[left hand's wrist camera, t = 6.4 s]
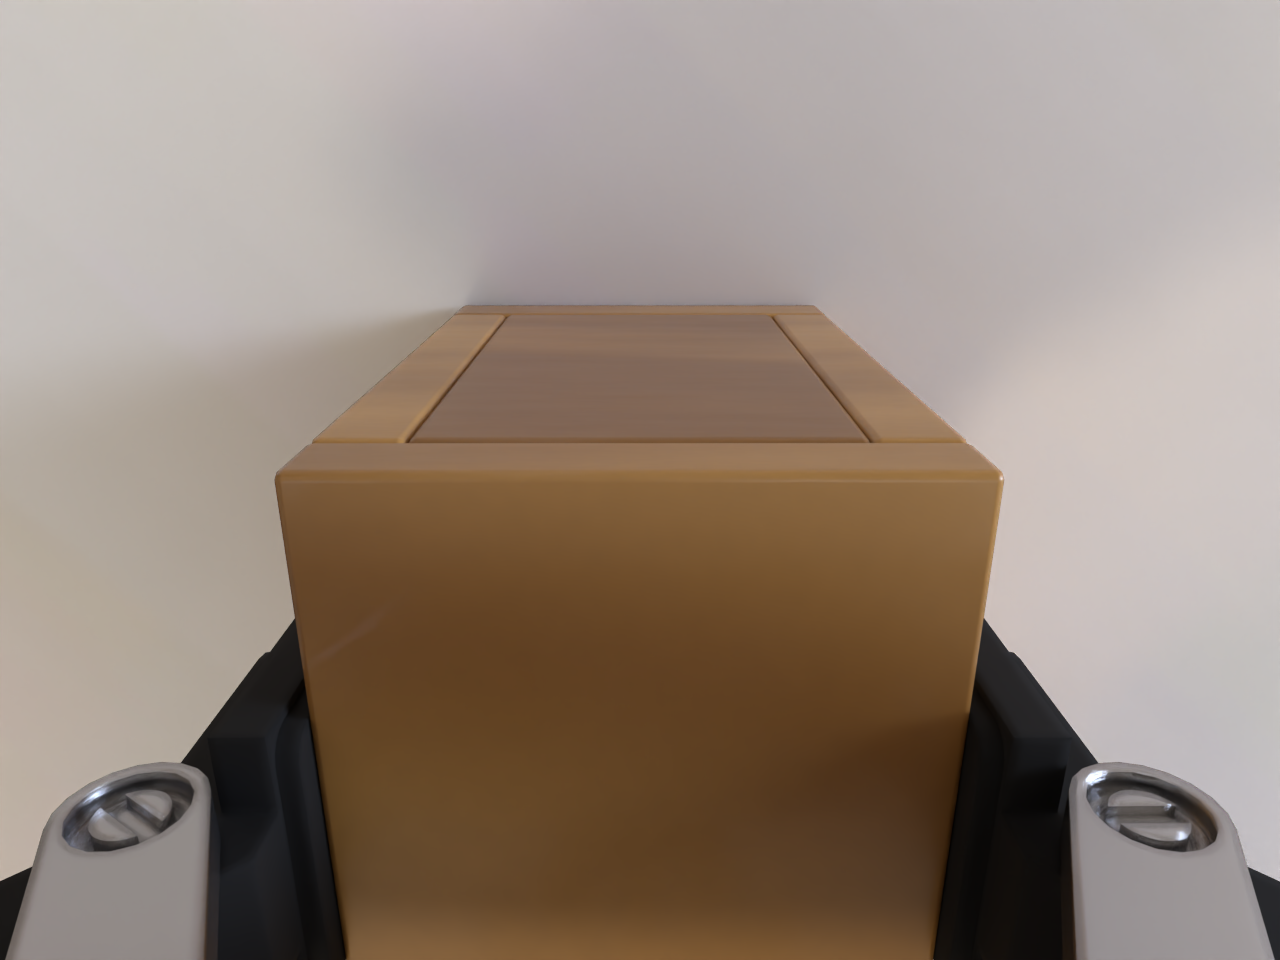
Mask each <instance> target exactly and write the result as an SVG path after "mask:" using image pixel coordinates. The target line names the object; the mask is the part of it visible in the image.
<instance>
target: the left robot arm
mask: <svg viewBox="0 0 1280 960" xmlns="http://www.w3.org/2000/svg"><path fill="white" fill-rule="evenodd" d="M0 960H346V955H345V948H344V942H343V935H342V928H341V921H340V915H339V908H338V901H337V895H336V888H335V881H334V875H333V868H332V861H331V855H330V848H329V841H328V834H327V828H326V821H325V814H324V808H323V801H322V794H321V788H320V781H319V774H318V768H317V761H316V754H315V747H314V741H313V734H312V727H311V721H310V714H309V707H308V701H307V694H306V687H305V680H304V674H303V667H302V660H301V654H300V647H299V640H298V634H297V627H296V620H295V619H294V620H293V622H292V623H291V624H290V626H289V627H288V629H287V630H286V631H285V633H284V634H283V635H282V637H281V638H280V639H279V641H278V642H277V643H276V645H275V646H274V647H273V649H272V650H271V652H267V653H265V654H264V655H263V656H262V657H260V658H259V660H258V661H257V662H256V664H255V665H254V666H253V668H252V669H251V670H250V672H249V673H248V674H247V676H246V677H245V678H244V680H243V681H242V682H241V684H240V685H239V686H238V688H237V689H236V690H235V692H234V693H233V694H232V696H231V697H230V698H229V700H228V701H227V702H226V704H225V705H224V706H223V708H222V709H221V710H220V712H219V713H218V714H217V716H216V717H215V718H214V720H213V721H212V722H211V724H210V725H209V726H208V728H207V729H206V730H205V732H204V733H203V734H202V736H201V737H200V738H199V740H198V741H197V742H196V744H195V745H194V746H193V747H192V749H191V750H190V751H189V753H188V754H187V755H186V757H185V758H184V759H183V761H182V762H181V763H168V762H158V763H151V764H144V765H137V766H134V767H130V768H127V769H124V770H120V771H117V772H114V773H111V774H109V775H107V776H105V777H102V778H100V779H98V780H96V781H94V782H92V783H89V784H88V785H86V786H85V787H83V788H82V789H80V790H79V791H77V792H76V793H74V794H73V795H71V796H70V797H68V798H67V799H66V800H65V801H64V802H63V803H62V804H61V805H60V806H59V807H58V808H57V809H56V810H55V811H54V812H53V813H52V814H51V816H50V818H49V820H48V822H47V824H46V826H45V827H44V829H43V832H42V836H41V839H40V843H39V846H38V850H37V853H36V856H35V860H34V863H33V867H30V868H28V869H26V870H24V871H22V872H20V873H17V874H15V875H13V876H11V877H9V878H6V879H4V880H2V881H0ZM933 960H1280V882H1279V881H1277V880H1275V879H1273V878H1271V877H1269V876H1266V875H1264V874H1262V873H1260V872H1258V871H1255V870H1253V869H1251V868H1249V867H1247V863H1246V860H1245V856H1244V853H1243V850H1242V846H1241V843H1240V839H1239V836H1238V832H1237V829H1236V827H1235V826H1234V824H1233V822H1232V820H1231V818H1230V816H1229V814H1228V813H1227V812H1226V811H1225V810H1224V809H1223V808H1222V807H1221V806H1220V805H1219V804H1218V803H1217V802H1216V801H1215V800H1214V799H1213V798H1212V797H1210V796H1209V795H1207V794H1206V793H1204V792H1203V791H1201V790H1200V789H1198V788H1197V787H1195V786H1194V785H1192V784H1191V783H1188V782H1186V781H1184V780H1182V779H1180V778H1178V777H1175V776H1173V775H1171V774H1169V773H1166V772H1163V771H1160V770H1156V769H1153V768H1150V767H1146V766H1143V765H1136V764H1129V763H1122V762H1112V763H1098V762H1097V761H1096V759H1095V758H1094V757H1093V755H1092V754H1091V753H1090V751H1089V750H1088V749H1087V747H1086V746H1085V745H1084V743H1083V742H1082V741H1081V739H1080V738H1079V737H1078V735H1077V734H1076V733H1075V731H1074V730H1073V729H1072V727H1071V726H1070V725H1069V723H1068V722H1067V721H1066V719H1065V718H1064V717H1063V715H1062V714H1061V713H1060V711H1059V710H1058V709H1057V707H1056V706H1055V705H1054V703H1053V702H1052V701H1051V699H1050V698H1049V697H1048V695H1047V694H1046V693H1045V691H1044V690H1043V689H1042V687H1041V686H1040V685H1039V683H1038V682H1037V681H1036V679H1035V678H1034V677H1033V675H1032V674H1031V673H1030V671H1029V670H1028V669H1027V667H1026V666H1025V665H1024V663H1023V662H1022V661H1021V659H1020V658H1019V657H1018V656H1016V655H1015V654H1014V653H1012V652H1009V651H1008V650H1007V649H1006V647H1005V646H1004V645H1003V643H1002V642H1001V641H1000V639H999V638H998V637H997V635H996V634H995V632H994V631H993V630H992V628H991V627H990V626H989V624H988V623H987V622H986V620H985V619H983V625H982V632H981V639H980V646H979V652H978V659H977V666H976V673H975V679H974V686H973V693H972V700H971V706H970V713H969V720H968V726H967V733H966V740H965V747H964V753H963V760H962V767H961V774H960V780H959V787H958V794H957V800H956V807H955V814H954V821H953V827H952V834H951V841H950V848H949V854H948V861H947V868H946V874H945V881H944V888H943V895H942V901H941V908H940V915H939V922H938V928H937V935H936V942H935V949H934V955H933Z"/></svg>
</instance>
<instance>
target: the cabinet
mask: <svg viewBox="0 0 1280 960" xmlns="http://www.w3.org/2000/svg"><path fill="white" fill-rule="evenodd" d="M1003 484H1004V478H1003V474H1002V472H1001V471H1000V470H999V469H998V468H997V467H996V466H994V465H993V464H992V463H991V462H990V461H989V460H988V459H987V458H985V457H984V456H983V455H982V454H981V453H980V452H979V451H978V450H976V449H975V448H974V447H973V446H971V445H969V444H967V443H966V440H965V439H964V438H963V437H962V436H961V435H959V434H958V433H957V432H956V431H955V430H954V429H953V428H952V427H950V426H949V425H948V424H947V423H946V422H945V421H944V420H943V419H941V418H940V417H939V416H938V415H937V414H936V413H935V412H933V411H932V410H931V409H930V408H929V407H928V406H927V405H926V404H924V403H923V402H922V401H921V400H920V399H919V398H918V397H916V396H915V395H914V394H913V393H912V392H911V391H910V390H909V389H907V388H906V387H905V386H904V385H903V384H902V383H901V382H899V381H898V380H897V379H896V378H895V377H894V376H893V375H892V374H890V373H889V372H888V371H887V370H886V369H885V368H884V367H883V366H881V365H880V364H879V363H878V362H877V361H876V360H875V359H873V358H872V357H871V356H870V355H869V354H868V353H867V352H866V351H864V350H863V349H862V348H861V347H860V346H859V345H858V344H856V343H855V342H854V341H853V340H852V339H851V338H850V337H849V336H847V335H846V334H845V333H844V332H843V331H842V330H841V329H840V328H838V327H837V326H836V325H835V324H834V323H833V322H832V321H830V320H829V319H828V318H827V317H826V316H825V315H824V314H823V313H822V312H821V311H820V310H819V309H818V308H817V307H815V306H464V307H462V308H461V309H460V310H459V311H458V312H457V313H456V314H455V315H454V316H453V317H452V318H451V319H449V320H448V321H447V322H446V323H445V324H444V325H443V326H441V327H440V328H439V329H438V330H437V331H436V332H435V333H434V334H432V335H431V336H430V337H429V338H428V339H427V340H426V341H425V342H423V343H422V344H421V345H420V346H419V347H418V348H417V349H415V350H414V351H413V352H412V353H411V354H410V355H409V356H408V357H406V358H405V359H404V360H403V361H402V362H401V363H400V364H398V365H397V366H396V367H395V368H394V369H393V370H392V371H391V372H389V373H388V374H387V375H386V376H385V377H384V378H383V379H381V380H380V381H379V382H378V383H377V384H376V385H375V386H374V387H372V388H371V389H370V390H369V391H368V392H367V393H366V394H365V395H363V396H362V397H361V398H360V399H359V400H358V401H357V402H355V403H354V404H353V405H352V406H351V407H350V408H349V409H348V410H346V411H345V412H344V413H343V414H342V415H341V416H340V417H338V418H337V419H336V420H335V421H334V422H333V423H332V424H331V425H329V426H328V427H327V428H326V429H325V430H324V431H323V432H322V433H320V434H319V435H318V436H317V437H316V438H315V439H314V440H313V442H312V444H310V445H308V446H306V447H305V448H304V449H303V450H301V451H300V452H299V453H298V454H297V455H296V456H295V457H294V458H292V459H291V460H290V461H289V462H288V463H287V464H286V465H284V466H283V467H282V468H281V469H280V470H279V471H278V472H277V473H276V477H275V486H276V493H277V500H278V506H279V513H280V520H281V527H282V533H283V540H284V547H285V553H286V560H287V567H288V573H289V580H290V587H291V593H292V600H293V607H294V614H295V620H296V627H297V634H298V640H299V647H300V654H301V660H302V667H303V674H304V680H305V687H306V694H307V701H308V707H309V714H310V721H311V727H312V734H313V741H314V747H315V754H316V761H317V768H318V774H319V781H320V788H321V794H322V801H323V808H324V814H325V821H326V828H327V834H328V841H329V848H330V855H331V861H332V868H333V875H334V881H335V888H336V895H337V901H338V908H339V915H340V921H341V928H342V935H343V942H344V948H345V955H346V960H933V955H934V949H935V942H936V935H937V928H938V922H939V915H940V908H941V901H942V895H943V888H944V881H945V874H946V868H947V861H948V854H949V848H950V841H951V834H952V827H953V821H954V814H955V807H956V800H957V794H958V787H959V780H960V774H961V767H962V760H963V753H964V747H965V740H966V733H967V726H968V720H969V713H970V706H971V700H972V693H973V686H974V679H975V673H976V666H977V659H978V652H979V646H980V639H981V632H982V625H983V619H984V612H985V605H986V599H987V592H988V585H989V578H990V572H991V565H992V558H993V551H994V545H995V538H996V531H997V525H998V518H999V511H1000V504H1001V498H1002V491H1003Z"/></svg>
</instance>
